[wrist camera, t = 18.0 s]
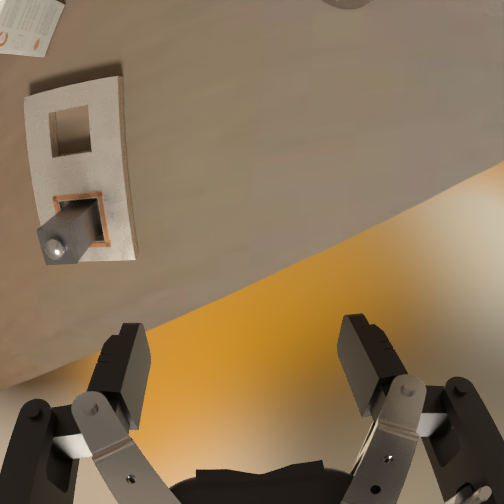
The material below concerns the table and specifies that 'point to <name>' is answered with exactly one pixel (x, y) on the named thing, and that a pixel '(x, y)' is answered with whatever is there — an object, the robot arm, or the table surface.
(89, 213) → the block with round knob
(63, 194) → the rail plate
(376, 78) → the table surface
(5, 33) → the small box
